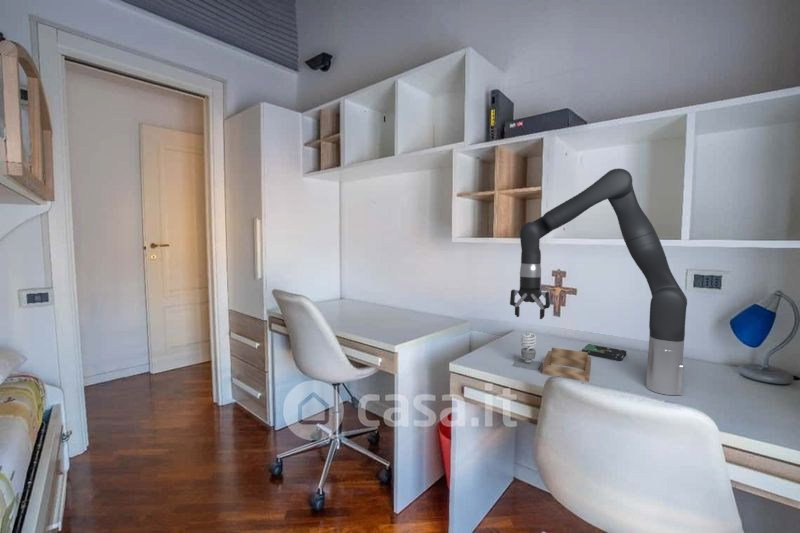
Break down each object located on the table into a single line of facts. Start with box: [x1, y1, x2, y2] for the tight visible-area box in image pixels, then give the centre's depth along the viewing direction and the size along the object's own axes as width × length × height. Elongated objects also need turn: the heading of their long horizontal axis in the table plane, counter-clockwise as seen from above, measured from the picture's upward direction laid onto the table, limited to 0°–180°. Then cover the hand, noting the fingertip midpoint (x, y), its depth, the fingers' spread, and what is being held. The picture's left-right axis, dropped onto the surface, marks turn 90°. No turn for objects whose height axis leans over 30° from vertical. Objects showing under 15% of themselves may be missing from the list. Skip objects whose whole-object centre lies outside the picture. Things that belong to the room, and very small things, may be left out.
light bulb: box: [520, 331, 537, 363], centre depth 147 cm, size 6×6×12 cm
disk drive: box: [581, 343, 627, 362], centre depth 161 cm, size 10×3×15 cm
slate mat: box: [512, 357, 543, 371], centre depth 148 cm, size 9×9×1 cm
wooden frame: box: [541, 347, 592, 383], centre depth 141 cm, size 15×15×6 cm
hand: (529, 317), depth 146 cm, fingers open, 8 cm apart
